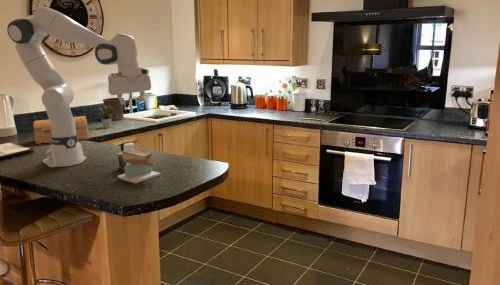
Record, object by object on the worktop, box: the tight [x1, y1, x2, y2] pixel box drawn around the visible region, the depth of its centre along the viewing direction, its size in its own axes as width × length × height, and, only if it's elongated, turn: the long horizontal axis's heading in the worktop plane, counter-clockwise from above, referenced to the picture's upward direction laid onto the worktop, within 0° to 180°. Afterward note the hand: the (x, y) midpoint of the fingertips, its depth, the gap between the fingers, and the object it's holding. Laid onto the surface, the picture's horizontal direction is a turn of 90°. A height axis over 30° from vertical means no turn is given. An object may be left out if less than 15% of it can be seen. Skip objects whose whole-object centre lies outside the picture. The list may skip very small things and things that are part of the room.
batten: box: [121, 149, 153, 167], centre depth 183 cm, size 4×16×5 cm, turn 50°
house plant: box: [97, 104, 116, 129], centre depth 298 cm, size 14×14×16 cm
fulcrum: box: [117, 164, 161, 184], centre depth 184 cm, size 13×13×6 cm
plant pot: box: [102, 97, 125, 122], centre depth 331 cm, size 16×16×16 cm
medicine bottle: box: [117, 141, 135, 171], centre depth 198 cm, size 7×7×12 cm
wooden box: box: [32, 115, 89, 145], centre depth 265 cm, size 30×16×14 cm, turn 109°
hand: (132, 102), depth 189 cm, fingers open, 8 cm apart
